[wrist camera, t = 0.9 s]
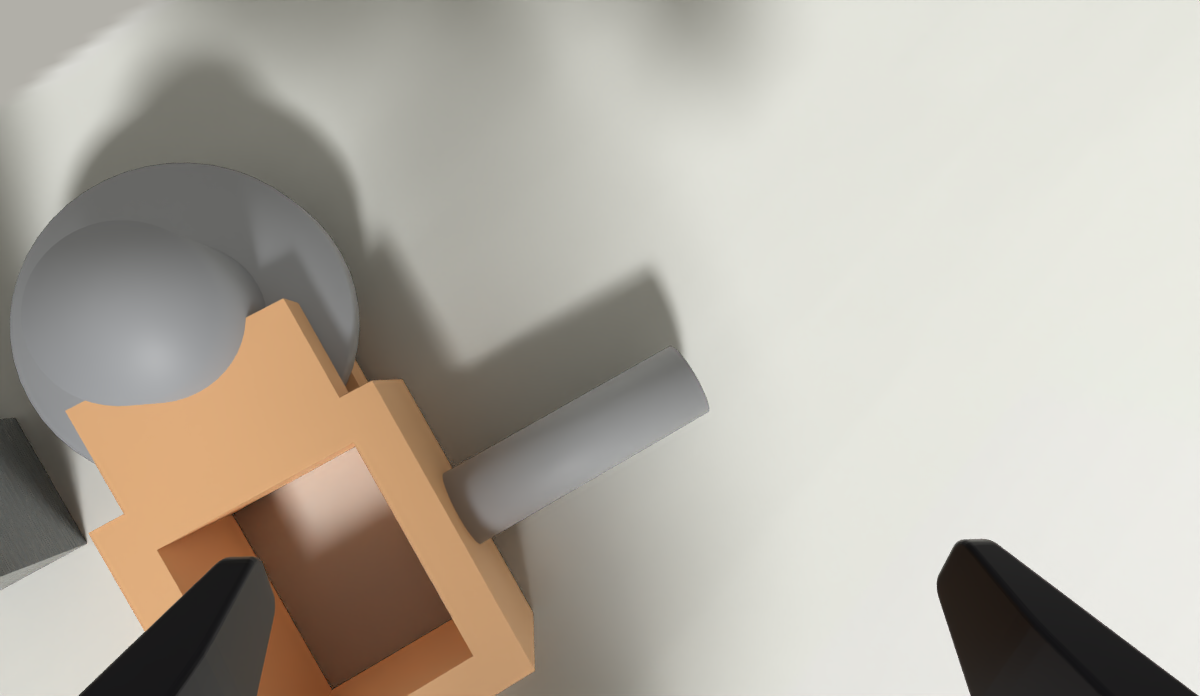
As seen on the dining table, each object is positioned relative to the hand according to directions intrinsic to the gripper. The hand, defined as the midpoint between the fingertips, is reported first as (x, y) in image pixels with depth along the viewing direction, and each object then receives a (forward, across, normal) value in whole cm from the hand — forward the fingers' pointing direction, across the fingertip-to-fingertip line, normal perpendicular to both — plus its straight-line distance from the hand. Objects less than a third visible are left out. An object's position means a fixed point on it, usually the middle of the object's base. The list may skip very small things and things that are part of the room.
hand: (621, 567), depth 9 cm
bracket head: (+13, +6, +7) cm, 16 cm away
